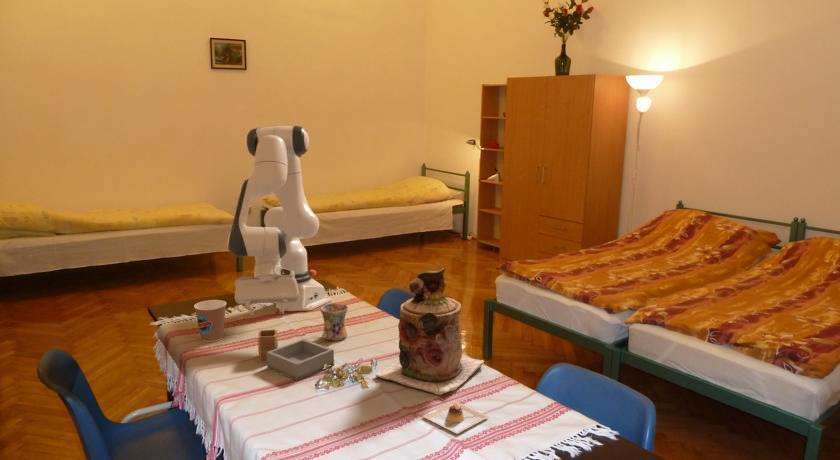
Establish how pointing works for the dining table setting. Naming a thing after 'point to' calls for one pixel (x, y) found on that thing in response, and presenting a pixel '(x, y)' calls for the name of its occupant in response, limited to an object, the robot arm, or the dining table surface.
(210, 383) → the dining table surface
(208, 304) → the coffee cup
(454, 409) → the dessert
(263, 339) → the square wooden cup
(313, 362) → the grey crate
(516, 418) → the dining table surface
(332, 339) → the mug
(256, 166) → the robot arm
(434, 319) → the cookie jar
